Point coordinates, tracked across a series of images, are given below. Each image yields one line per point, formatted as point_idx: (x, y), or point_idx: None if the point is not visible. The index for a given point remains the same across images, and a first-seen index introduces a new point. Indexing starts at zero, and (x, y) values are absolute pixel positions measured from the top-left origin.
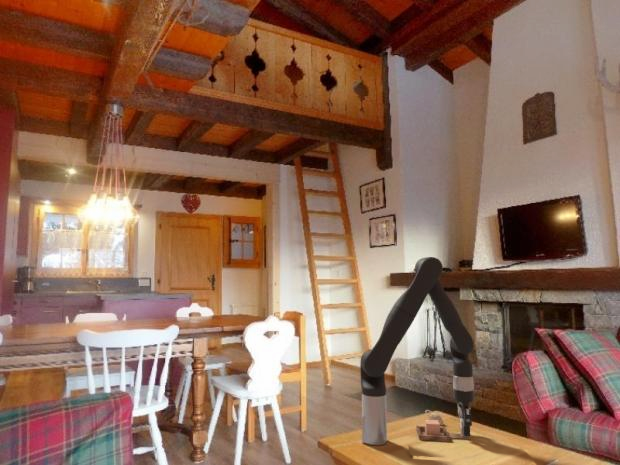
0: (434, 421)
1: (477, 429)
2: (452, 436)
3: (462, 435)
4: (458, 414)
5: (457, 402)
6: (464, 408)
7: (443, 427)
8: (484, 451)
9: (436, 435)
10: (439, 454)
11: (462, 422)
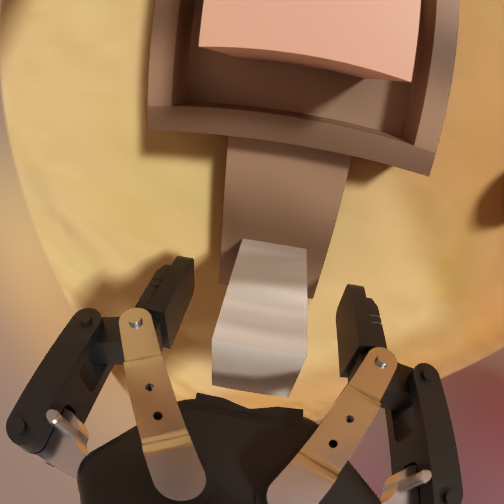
0: (346, 3)
1: (422, 355)
2: (260, 172)
3: (239, 251)
4: (412, 373)
5: (455, 479)
6: (77, 467)
7: (422, 158)
8: (118, 281)
9: (178, 15)
10: (35, 47)
11: (215, 333)
